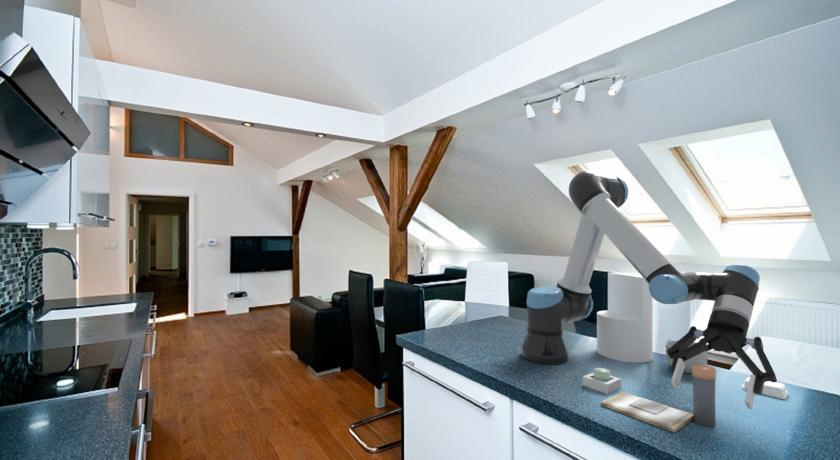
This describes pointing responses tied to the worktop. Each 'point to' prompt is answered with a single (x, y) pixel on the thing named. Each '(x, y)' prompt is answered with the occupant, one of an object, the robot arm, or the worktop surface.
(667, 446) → the worktop surface
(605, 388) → the button housing
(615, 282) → the cylinder
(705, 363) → the teacup
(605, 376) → the button
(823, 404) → the worktop surface
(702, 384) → the marker
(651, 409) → the wooden picture frame
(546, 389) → the worktop surface
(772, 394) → the soap
